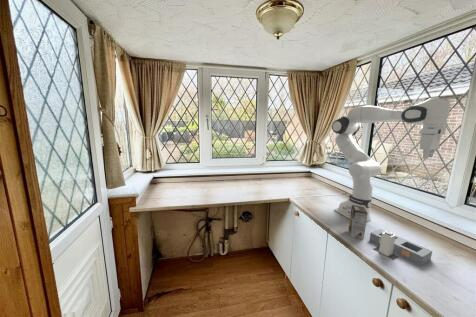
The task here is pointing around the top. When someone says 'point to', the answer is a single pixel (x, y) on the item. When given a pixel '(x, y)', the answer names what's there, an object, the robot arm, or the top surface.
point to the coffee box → (357, 222)
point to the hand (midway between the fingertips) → (427, 157)
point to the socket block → (405, 248)
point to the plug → (387, 243)
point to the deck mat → (385, 255)
